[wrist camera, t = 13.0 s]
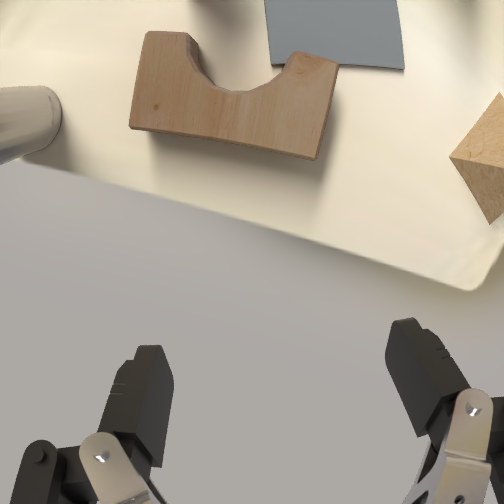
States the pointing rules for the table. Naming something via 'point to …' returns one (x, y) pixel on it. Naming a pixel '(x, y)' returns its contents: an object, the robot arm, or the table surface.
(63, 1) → the table surface
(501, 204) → the model pyramid
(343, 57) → the mat
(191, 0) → the table surface
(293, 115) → the decorative block
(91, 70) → the table surface
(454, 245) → the table surface
